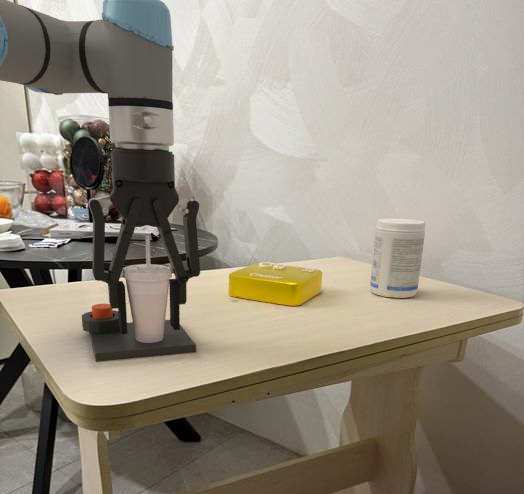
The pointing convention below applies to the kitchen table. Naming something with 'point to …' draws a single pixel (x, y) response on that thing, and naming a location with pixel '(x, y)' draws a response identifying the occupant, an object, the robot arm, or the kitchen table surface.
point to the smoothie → (148, 297)
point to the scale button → (102, 311)
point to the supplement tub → (397, 257)
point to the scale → (132, 340)
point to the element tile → (275, 283)
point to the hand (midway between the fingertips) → (149, 328)
